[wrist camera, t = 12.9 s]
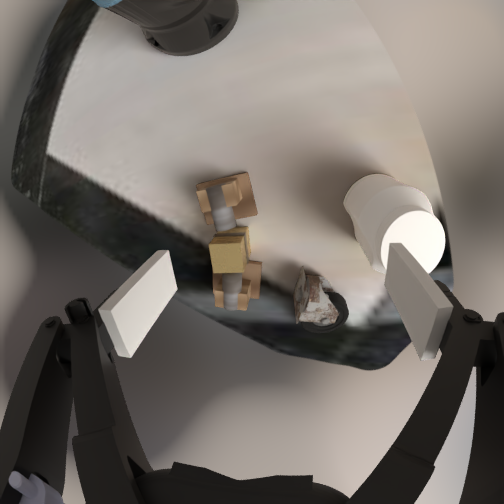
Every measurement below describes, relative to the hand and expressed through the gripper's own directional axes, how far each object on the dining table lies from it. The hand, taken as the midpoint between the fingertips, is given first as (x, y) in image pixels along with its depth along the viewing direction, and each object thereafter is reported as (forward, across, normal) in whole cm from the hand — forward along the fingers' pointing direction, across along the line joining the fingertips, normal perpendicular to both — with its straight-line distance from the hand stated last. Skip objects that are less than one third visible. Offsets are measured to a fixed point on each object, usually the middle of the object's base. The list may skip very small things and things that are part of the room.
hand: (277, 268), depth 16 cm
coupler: (+27, -8, -8) cm, 29 cm away
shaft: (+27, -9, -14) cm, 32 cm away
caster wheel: (+27, +5, -19) cm, 34 cm away
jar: (+27, +14, -4) cm, 31 cm away
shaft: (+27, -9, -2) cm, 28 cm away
